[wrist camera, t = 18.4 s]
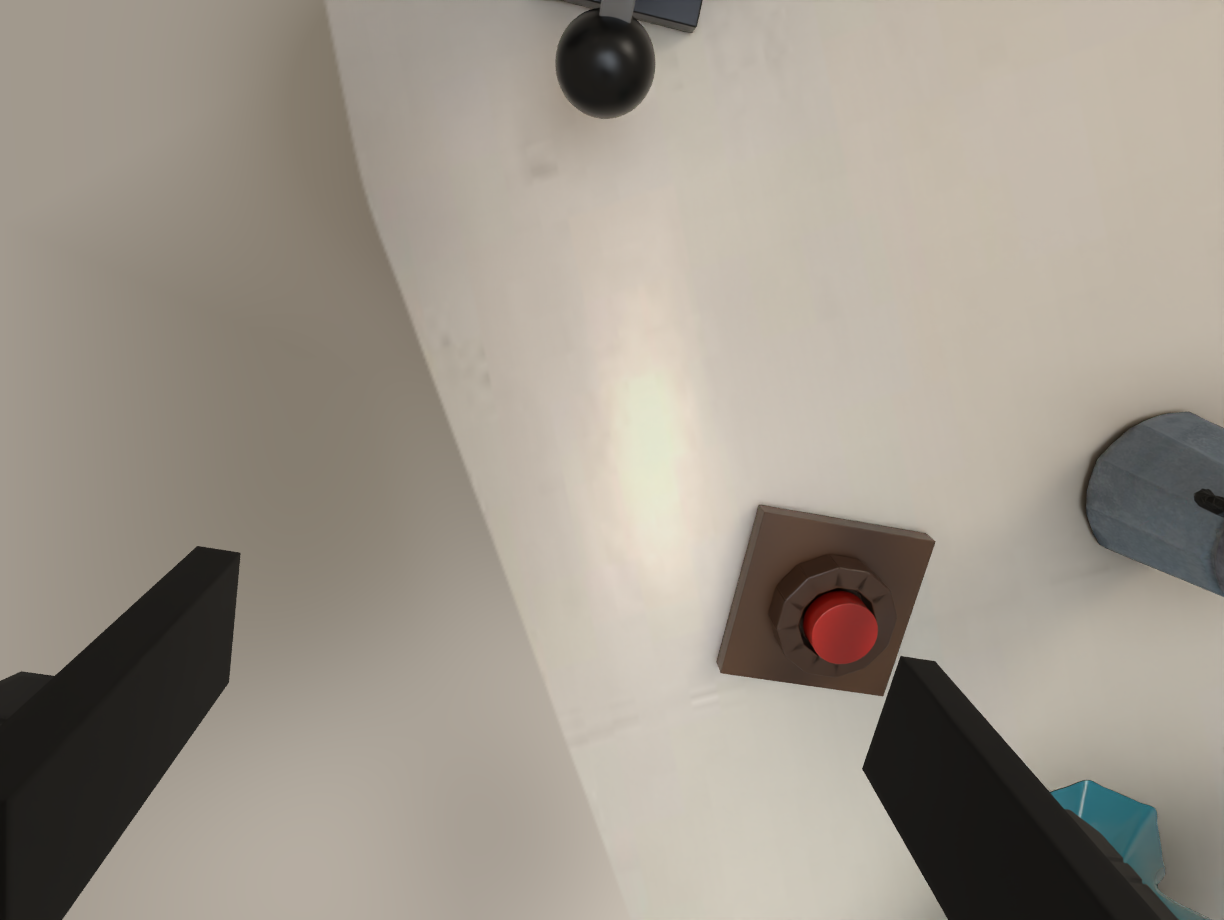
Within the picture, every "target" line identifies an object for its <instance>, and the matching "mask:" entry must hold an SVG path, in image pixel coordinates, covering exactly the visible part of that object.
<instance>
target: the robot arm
mask: <svg viewBox="0 0 1224 920" xmlns="http://www.w3.org/2000/svg"><path fill="white" fill-rule="evenodd" d="M239 564H240V553H238V552H231V551H226V550H219V549H213V548H206V547H200V546H197V547H196V548H195V549H194V550H193V551H191V552H190V553H189V554H188V555H187V556H186V557H185V558H184V559H183V560H182V561H180V562H179V563H178V564H177V565H176V566H175V567H174V568H173V569H172V570H171V571H169V572H168V573H167V574H166V575H165V576H164V577H163V578H162V579H161V580H160V581H159V582H157V583H156V584H155V585H154V586H153V587H152V588H151V589H150V590H149V591H148V592H146V593H145V594H144V595H143V596H142V597H141V598H140V599H139V600H138V601H137V602H135V603H134V604H133V605H132V606H131V607H130V608H129V609H128V610H127V611H126V612H125V613H123V614H122V615H121V616H120V617H119V618H118V619H117V620H116V621H115V622H114V623H113V624H111V625H110V626H109V627H108V628H107V629H106V630H105V631H104V632H103V633H101V634H100V635H99V636H98V637H97V638H96V639H95V640H94V641H93V642H92V643H90V644H89V645H88V646H87V647H86V648H85V649H84V650H83V651H82V652H81V653H80V654H78V655H77V656H76V657H75V658H74V659H73V660H72V661H71V662H70V663H69V664H68V665H66V666H65V667H64V668H63V669H62V670H61V671H60V672H59V673H58V674H56V675H55V676H51V675H43V674H36V673H28V672H19V673H17V674H15V675H12V676H10V677H8V678H6V679H4V680H1V681H0V920H62V919H63V917H64V916H65V915H66V913H67V912H68V911H69V909H70V908H71V906H72V905H73V903H74V902H75V901H76V899H77V898H78V896H79V895H80V893H81V892H82V891H83V889H84V888H85V886H86V885H87V884H88V882H89V881H90V879H91V878H92V876H93V875H94V873H95V872H96V871H97V869H98V868H99V866H100V865H101V864H102V862H103V861H104V859H105V858H106V856H107V855H108V854H109V852H110V851H111V849H112V848H113V847H114V845H115V844H116V842H117V841H118V839H119V838H120V837H121V835H122V833H123V832H124V831H125V829H126V828H127V826H128V825H129V824H130V822H131V821H132V819H133V818H134V817H135V815H136V814H137V812H138V811H139V810H140V808H141V807H142V805H143V804H144V802H145V801H146V800H147V798H148V796H149V795H150V794H151V792H152V791H153V789H154V788H155V787H156V785H157V784H158V782H159V781H160V780H161V778H162V777H163V775H164V774H165V772H166V771H167V770H168V768H169V767H170V765H171V764H172V762H173V761H174V760H175V758H176V757H177V755H178V754H179V753H180V751H181V750H182V748H183V747H184V745H185V744H186V743H187V741H188V740H189V738H190V737H191V736H192V734H193V733H194V731H195V730H196V728H197V727H198V726H199V724H200V723H201V721H202V720H203V718H204V717H205V716H206V714H207V713H208V711H209V710H210V708H211V707H212V705H213V704H214V703H215V701H216V700H217V698H218V697H219V696H220V694H221V693H222V691H223V690H224V689H225V687H226V686H227V684H228V683H229V675H230V664H231V653H232V642H233V630H234V619H235V608H236V597H237V586H238V575H239ZM862 769H863V771H864V773H865V774H866V776H867V778H868V780H869V781H870V783H871V785H872V787H873V789H874V790H875V792H876V794H877V796H878V797H879V799H880V801H881V803H882V804H883V806H884V808H885V810H886V811H887V813H888V815H889V817H890V818H891V820H892V822H893V824H894V825H895V827H896V829H897V831H898V832H899V834H900V836H901V838H902V839H903V841H904V843H905V845H906V846H907V848H908V850H909V852H910V853H911V855H912V857H913V859H914V860H915V862H916V864H917V866H918V868H919V869H920V871H921V873H922V875H923V876H924V878H925V880H926V882H927V883H928V885H929V887H930V889H931V890H932V892H933V894H934V896H935V897H936V899H937V901H938V903H939V904H940V906H941V908H942V910H943V911H944V913H945V915H946V917H947V918H948V920H1179V919H1178V918H1177V917H1176V916H1175V915H1174V914H1173V913H1172V912H1171V911H1170V909H1169V908H1168V907H1167V906H1166V905H1165V904H1164V903H1163V902H1162V901H1161V899H1160V898H1159V897H1158V896H1157V895H1156V894H1155V893H1154V892H1153V891H1152V889H1151V888H1150V887H1149V886H1148V885H1147V884H1143V883H1142V878H1141V877H1140V876H1139V875H1138V874H1137V873H1136V872H1135V871H1134V869H1133V868H1132V867H1131V866H1130V865H1129V864H1128V863H1124V862H1123V857H1122V856H1121V855H1120V854H1119V853H1118V852H1117V851H1116V850H1115V848H1114V847H1113V846H1112V845H1111V844H1110V843H1109V842H1108V841H1107V840H1106V838H1105V837H1104V836H1103V835H1102V834H1101V833H1100V832H1099V831H1097V830H1096V829H1095V828H1093V827H1092V826H1091V825H1089V824H1088V823H1087V822H1086V821H1084V820H1083V819H1082V818H1080V817H1079V816H1078V815H1076V814H1075V813H1074V812H1072V811H1071V810H1068V809H1064V808H1063V807H1062V806H1061V805H1060V803H1059V802H1058V801H1057V800H1056V799H1055V798H1054V797H1053V795H1052V794H1051V793H1050V792H1049V791H1048V790H1047V789H1046V787H1045V786H1044V785H1043V784H1042V783H1041V782H1040V781H1039V779H1038V778H1037V777H1036V776H1035V775H1034V774H1033V773H1032V771H1031V770H1030V769H1029V768H1028V767H1027V766H1026V765H1025V763H1024V762H1023V761H1022V760H1021V759H1020V758H1019V757H1018V755H1017V754H1016V753H1015V752H1014V751H1013V750H1012V749H1011V747H1010V746H1009V745H1008V744H1007V743H1006V742H1005V741H1004V739H1003V738H1002V737H1001V736H1000V735H999V734H998V733H997V732H996V730H995V729H994V728H993V727H992V726H991V725H990V724H989V722H988V721H987V720H986V719H985V718H984V717H983V716H982V714H981V713H980V712H979V711H978V710H977V709H976V708H975V706H974V705H973V704H972V703H971V702H970V701H969V700H968V698H967V697H966V696H965V695H964V694H963V693H962V692H961V690H960V689H959V688H958V687H957V686H956V685H955V684H954V682H953V681H952V680H951V679H950V678H949V677H948V676H947V674H946V673H945V672H944V671H943V670H942V669H941V668H940V666H939V665H938V664H937V663H936V662H935V661H929V660H923V659H916V658H910V657H904V656H901V657H900V660H899V663H898V665H897V668H896V671H895V674H894V677H893V680H892V683H891V686H890V689H889V692H888V695H887V698H886V701H885V704H884V706H883V709H882V712H881V715H880V718H879V721H878V724H877V727H876V730H875V733H874V736H873V739H872V742H871V745H870V747H869V750H868V753H867V756H866V759H865V762H864V765H863V768H862Z"/></svg>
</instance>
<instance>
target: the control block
mask: <svg viewBox="0 0 1224 920" xmlns="http://www.w3.org/2000/svg"><path fill="white" fill-rule="evenodd" d="M934 544H935V541H934V540H933V539H932V538H931V537H930V536H928V535H927V534H926V533H921V532H915V531H909V530H903V529H897V528H891V527H886V526H880V525H874V524H868V523H862V522H857V521H851V520H845V519H839V518H833V517H827V516H822V515H816V514H810V513H804V512H798V511H793V510H787V509H781V508H775V507H769V506H763V505H759V507H758V511H757V514H756V518H755V522H754V525H753V529H752V533H751V537H750V540H749V544H748V548H747V551H746V555H745V559H744V563H743V566H742V570H741V574H740V577H739V581H738V585H737V588H736V592H735V596H734V600H733V603H732V607H731V611H730V614H729V618H728V622H727V626H726V629H725V633H724V637H723V640H722V644H721V648H720V652H719V655H718V659H717V665H718V667H719V670H720V673H723V674H730V675H737V676H744V677H751V678H758V679H765V680H772V681H779V682H786V683H793V684H800V685H807V686H814V687H822V688H829V689H836V690H843V691H850V692H857V693H864V694H871V695H878V696H883V695H884V692H885V689H886V686H887V683H888V680H889V677H890V675H891V672H892V669H893V666H894V663H895V660H896V657H897V654H898V651H899V648H900V645H901V642H902V639H903V636H904V633H905V630H906V627H907V624H908V621H909V618H910V615H911V612H912V609H913V606H914V604H915V601H916V598H917V595H918V592H919V589H920V586H921V583H922V580H923V577H924V574H925V571H926V568H927V565H928V562H929V559H930V556H931V553H932V550H933V547H934ZM833 591H845V592H849V593H852V594H854V595H856V596H857V597H859V598H860V599H861V600H862V602H863V603H864V604H865V605H866V606H867V608H868V609H869V610H870V611H871V613H872V614H873V615H874V617H875V619H876V621H877V625H878V635H877V639H876V642H875V644H874V646H873V647H872V649H871V650H870V651H869V652H868V653H867V654H866V655H865V656H864V657H862V658H861V659H859V660H857V661H854V662H851V663H847V664H834V663H830V662H828V661H826V660H824V659H822V658H821V657H820V656H819V655H818V654H817V653H816V652H815V650H814V648H813V647H812V645H811V644H810V642H809V640H808V639H807V637H806V635H805V633H804V629H803V620H804V615H805V613H806V611H807V609H808V607H809V606H810V604H811V603H812V602H813V601H814V600H816V599H817V598H818V597H820V596H822V595H823V594H826V593H829V592H833Z"/></svg>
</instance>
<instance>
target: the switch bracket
mask: <svg viewBox="0 0 1224 920" xmlns="http://www.w3.org/2000/svg"><path fill="white" fill-rule="evenodd" d="M561 1H565V2H569V3H573V4H577V5H581V6H585V7H589V8H593V9H595V8H600V6H601V1H602V0H561ZM701 5H702V0H635V4H634V9H633V14H632V16H633V17H634V18H635V19H638V20H642V21H646V22H650V23H654V24H658V25H662V26H666V27H670V28H674V29H678V30H682V31H686V32H690V33H692V32H693V31H694V30H695V28H696V27H697V24H698V19H699V14H700V10H701Z"/></svg>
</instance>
